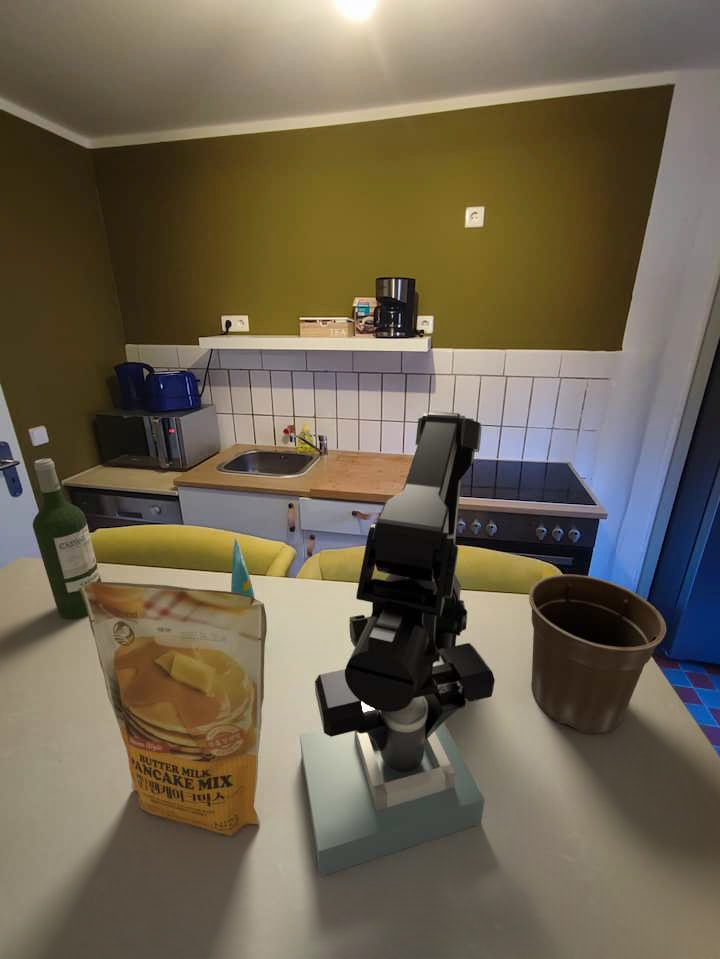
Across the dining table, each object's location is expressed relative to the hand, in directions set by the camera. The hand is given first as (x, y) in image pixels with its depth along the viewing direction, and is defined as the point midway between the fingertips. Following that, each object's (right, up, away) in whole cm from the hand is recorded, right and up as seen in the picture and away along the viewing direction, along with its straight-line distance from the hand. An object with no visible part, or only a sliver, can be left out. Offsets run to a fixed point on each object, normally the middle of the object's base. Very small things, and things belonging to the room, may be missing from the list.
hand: (402, 741), depth 49 cm
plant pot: (+27, -2, +14) cm, 30 cm away
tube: (-24, +1, +25) cm, 34 cm away
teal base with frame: (-2, -7, +2) cm, 7 cm away
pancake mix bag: (-24, -7, +1) cm, 25 cm away
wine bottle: (-59, +5, +35) cm, 69 cm away
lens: (0, -1, +1) cm, 2 cm away
